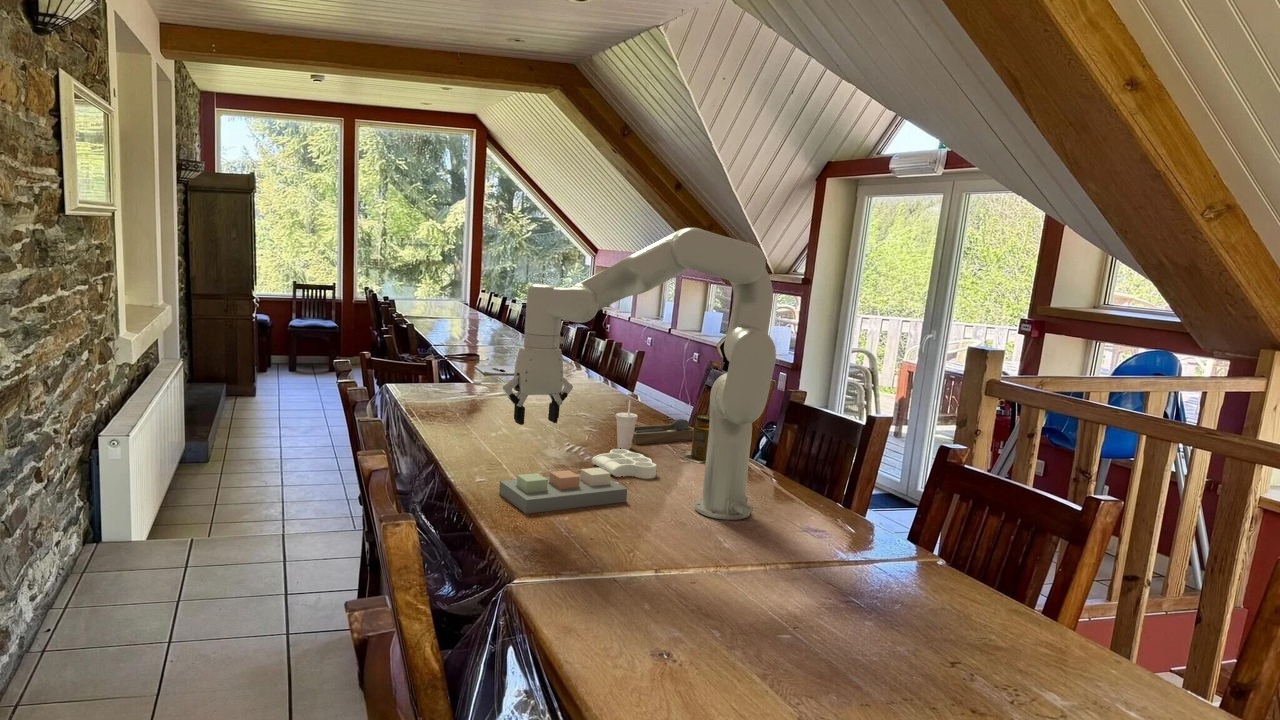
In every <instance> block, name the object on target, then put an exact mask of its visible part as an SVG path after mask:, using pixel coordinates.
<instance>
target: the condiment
mask: <svg viewBox="0 0 1280 720" xmlns="http://www.w3.org/2000/svg"><path fill="white" fill-rule="evenodd" d="M709 423H710V415H705V414H700V415H696V417H695V423H694V425H693V428H694V430H693V440H691V441H692V442H691V451H690V452H691V453H690V454H686V455H680V456H679V457H680V458H682V459H685V460H688V461H690V462H693V463H697V464H701V463H706V454H707V444H708V435H709Z"/></svg>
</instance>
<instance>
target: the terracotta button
mask: <svg viewBox="0 0 1280 720" xmlns="http://www.w3.org/2000/svg"><path fill="white" fill-rule="evenodd" d="M577 474H578V473H575V472H574V471H572V470H570V469H568V470H559V471H557V470H556V471H550V472H549V476H550V477H549V484H551V485H552V486H554V487H555V488H557V489H558V490H561V489H570V488H579V482H580V476H578V475H577Z"/></svg>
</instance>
